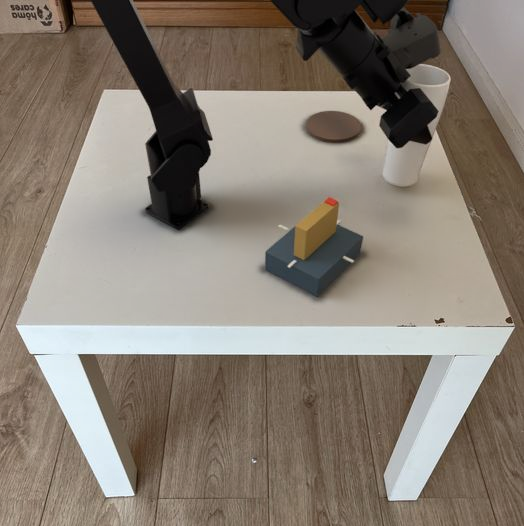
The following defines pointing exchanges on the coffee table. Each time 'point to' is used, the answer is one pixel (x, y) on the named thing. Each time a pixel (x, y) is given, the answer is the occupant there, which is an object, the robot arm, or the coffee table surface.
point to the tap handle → (316, 228)
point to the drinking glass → (413, 154)
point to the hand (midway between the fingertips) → (419, 128)
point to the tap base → (313, 259)
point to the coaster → (333, 126)
